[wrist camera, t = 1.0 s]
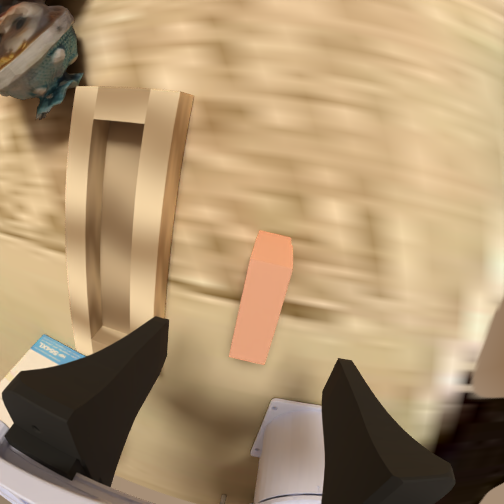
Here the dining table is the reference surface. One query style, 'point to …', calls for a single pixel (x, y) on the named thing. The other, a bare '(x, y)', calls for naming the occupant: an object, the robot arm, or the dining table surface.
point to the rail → (121, 207)
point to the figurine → (36, 52)
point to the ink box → (37, 365)
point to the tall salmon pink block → (262, 297)
